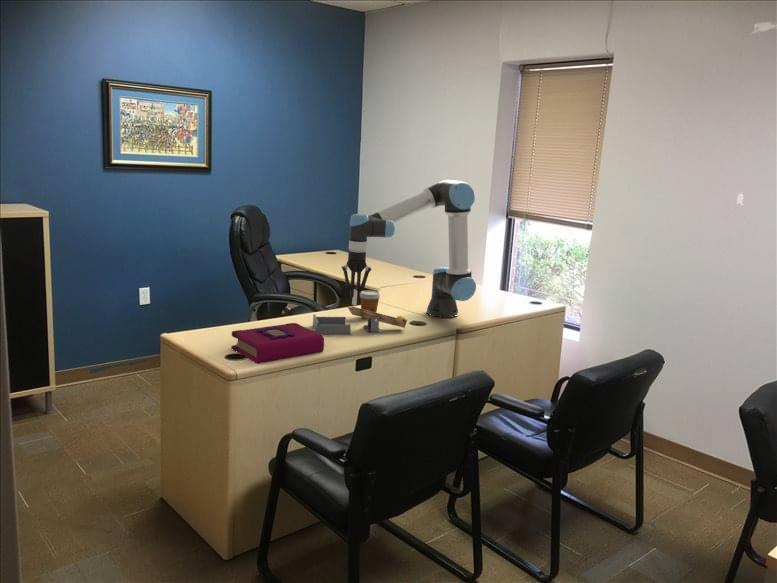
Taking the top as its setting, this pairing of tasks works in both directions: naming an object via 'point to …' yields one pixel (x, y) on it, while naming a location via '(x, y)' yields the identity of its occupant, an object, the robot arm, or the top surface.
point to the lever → (381, 317)
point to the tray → (330, 325)
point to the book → (277, 342)
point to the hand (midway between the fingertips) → (354, 304)
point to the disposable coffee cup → (369, 300)
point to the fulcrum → (373, 325)
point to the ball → (400, 318)
